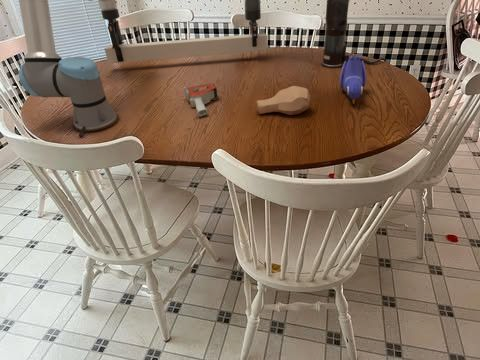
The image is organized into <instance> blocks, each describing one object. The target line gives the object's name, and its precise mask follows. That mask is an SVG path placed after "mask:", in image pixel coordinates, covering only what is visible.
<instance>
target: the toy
mask: <svg viewBox="0 0 480 360" xmlns="http://www.w3.org/2000/svg"><path fill="white" fill-rule="evenodd" d="M360 59H362V56H361V55H355V56H354V55H349V59H348V61H345V62H344V64H343V65H342V67H341V69H340V72H339V73H340V74H339V86H340V88H342V89H343V91H344V92H345V94H346V95H347V96H348V97H349V98H350V99H351V103H352V105H354V104H355V103H356V100H357V99H358V98H359V97H361V96H362V95H363V93H364V87H365V86H366V83H367V69H366V65H365V62H364V61H363V60H362V61H360Z"/></svg>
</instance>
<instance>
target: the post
mask: <svg viewBox="0 0 480 360" xmlns="http://www.w3.org/2000/svg"><path fill="white" fill-rule="evenodd" d="M253 36H256V34H254V35H253ZM257 36H258V38H257V46H256V47H253V46H252V34H250V33H249V34H240V35H239V34H238V35H237V34H236V35H226V36H213V37H212V36H211V37H201V38H188V39H174V40H164V41H163V40H162V41H151V42H148V41H147V42H139V43H138V42H137V43H124V44H123V45H119V46H120V48H121V52H122V56H123V60H124V61H122V62H118V60H117V56H116V52H115V49H113V48H112V47H113V46H112V44H110V45H106V46H105V47H104V48H103V50H104V53H105V56H106V57H105V58H106V60H107V64H120V63H133V62H134V63H135V62H143V61H157V60H169V59H181V58H193V57H206V56H207V57H208V56H219V55H232V54H242V53H243V54H245V53H256V52H267V51H268V35H267V33H266V32H265V33H263V32H262V33H257Z"/></svg>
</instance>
